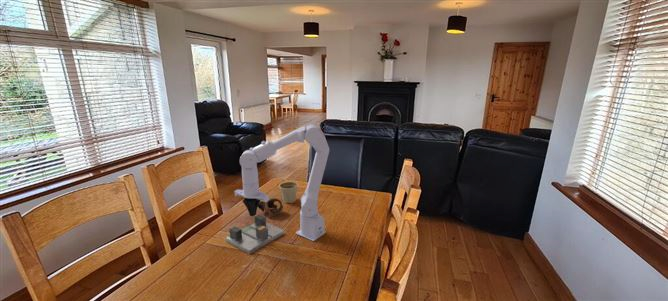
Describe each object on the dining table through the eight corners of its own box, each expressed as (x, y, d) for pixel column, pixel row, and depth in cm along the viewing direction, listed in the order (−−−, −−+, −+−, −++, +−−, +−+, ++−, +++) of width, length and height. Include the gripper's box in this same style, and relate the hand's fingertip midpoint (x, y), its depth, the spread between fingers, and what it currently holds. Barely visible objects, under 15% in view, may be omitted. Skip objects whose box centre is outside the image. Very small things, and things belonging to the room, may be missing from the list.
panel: (283, 233, 115) (283, 222, 114) (249, 254, 102) (248, 241, 100) (260, 223, 123) (260, 212, 122) (226, 241, 110) (224, 229, 108)
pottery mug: (283, 208, 138) (285, 198, 132) (279, 225, 131) (281, 214, 125) (258, 203, 136) (259, 192, 131) (252, 219, 129) (254, 209, 124)
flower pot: (276, 203, 142) (275, 187, 139) (284, 196, 150) (284, 180, 148) (293, 206, 139) (293, 189, 137) (301, 198, 148) (301, 182, 146)
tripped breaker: (268, 237, 109) (267, 228, 108) (263, 239, 107) (262, 230, 106) (261, 233, 112) (260, 224, 111) (256, 236, 110) (255, 227, 109)
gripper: (273, 181, 108) (274, 214, 111) (242, 176, 113) (244, 207, 116) (261, 188, 101) (264, 222, 105) (229, 182, 107) (232, 215, 110)
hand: (253, 215), depth 110 cm, fingers closed
